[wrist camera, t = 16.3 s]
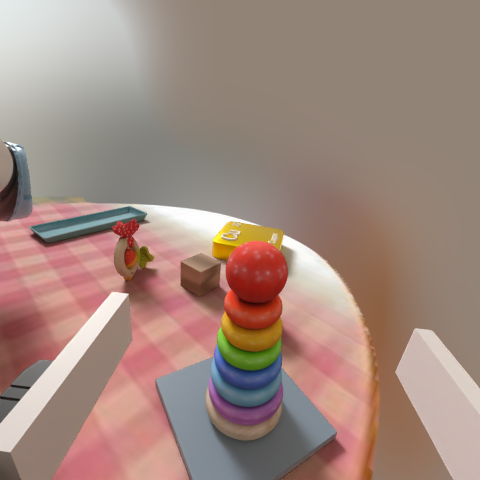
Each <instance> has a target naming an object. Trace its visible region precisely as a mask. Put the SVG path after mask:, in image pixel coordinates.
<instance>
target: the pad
mask: <svg viewBox="0 0 480 480" xmlns="http://www.w3.org/2000/svg"><path fill="white" fill-rule="evenodd" d="M213 359H214V357H212V358H209V359H206V360H204V361H201V362H199V363H196V364H194V365H191V366H188V367H186V368H183V369H181V370H178V371H175V372H173V373H170V374H168V375H165V376H163V377H160V378H157V379H155V380H156V388H157V390H158V393H159V396H160V399H161V401H162V404H163V407H164V410H165V412H166V415H167V418H168V421H169V423H170V426H171V429H172V432H173V434H174V437H175V440H176V442H177V445H178V448H179V451H180V453H181V456H182V459H183V462H184V464H185V467H186V470H187V473H188V475H189V478H190V480H279V479H281V478H282V477H283V476H285V475H286V474H287V473H289V472H290V471H292V470H293V469H294V468H296V467H297V466H298V465H300V464H301V463H302V462H304V461H305V460H306V459H308V458H309V457H310V456H312V455H313V454H314V453H316V452H317V451H319V450H320V449H321V448H323V447H324V446H325V445H327V444H328V443H329V442H331V441H332V440H333V439H335V437H336V434H337V431H336V430H335V429H334V428H333V426H332V425H331V424H330V423H329V422H328V421H327V420H326V418H325V417H324V416H323V415H322V414H321V413H320V411H319V410H318V409H317V408H316V407H315V406H314V405H313V403H312V402H311V401H310V400H309V399H308V398H307V396H306V395H305V394H304V393H303V392H302V391H301V390H300V388H299V387H298V386H297V385H296V384H295V383H294V381H293V380H292V379H291V378H290V377H289V376H288V375H287V373H286V372H285V371H284V370H283V369H282V368H281V370H282V384H283V398H282V412H281V416H280V419H279V421H278V423H277V424H276V426H275V427H274V428H273V429H272V430H271V431H270V432H269V433H267V434H266V435H264V436H263V437H260V438H258V439H255V440H248V441H244V440H237V439H234V438H231V437H229V436H227V435H225V434H224V433H222V432H221V431H219V430H218V429H217V428H216V427H215V425H214V424H213V423H212V421H211V420H210V418H209V416H208V413H207V410H206V404H205V396H206V390H207V387H208V385H209V379H210V376H211V364H212V361H213Z"/></svg>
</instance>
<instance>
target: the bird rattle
mask: <svg viewBox="0 0 480 480" xmlns="http://www.w3.org/2000/svg"><path fill="white" fill-rule="evenodd" d="M136 222H137V220H136V219H133V220H132V221H130V222H128V223H126V224H124V223H122V222H120V221H118V222H117V225H116V226H113V227H112V230H113V232H114V233H116V234H117V235H120V236H121V237H120V239H119V241H118V243H117V245H116V248H115V252H114V264H115V268H116V270H117V272H118V273H119V274H120V275H121V276H123V277H124V279H125V280H131V279H132V277H133V275H134V273H135V272H136V270H137V268H138V265H139V267H140V268H145V267H146V264H147V262H151V261H153V259H154V257H153V256H152V255H151V254H150V253H149V251H148V248H147V247H145V246H143V247H141V248H140V249H139V247H138V244H137V242H136V241H135V239H134V238H133V237H132V235H133V234H134V233H135V232H136V231H137V230H138V228H139V224H136ZM128 247H129V249H128Z"/></svg>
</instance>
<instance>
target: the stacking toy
mask: <svg viewBox="0 0 480 480" xmlns="http://www.w3.org/2000/svg"><path fill="white" fill-rule="evenodd" d="M287 277H288V268H287V263H286V260H285V258H284V256H283V254H282V253H281V252H280V251H279V250H278V249H277V248H276V247H275V246H273V245H271V244H269V243H267V242H263V241H250V242H246V243H244V244H242V245H240V246H238V247H237V248H236V249H235V250H234V251H233V252H232V253H231V255H230V256H229V258H228V261H227V264H226V278H227V282H228V284H229V287H230V288H231V290H230V291H229V292H228V293H227V295H226V297H225V300H224V309H225V313H224V315H223V317H222V320H221V328H220V329H219V332H218V335H217V346H216V348H215V353H214V359H213V361H212V364H211V376H210V379H209V385H208V387H207V390H206V396H205V404H206V410H207V413H208V416H209V418H210V420H211V421H212V423H213V424H214V425H215V427H216V428H217V429H218V430H219V431H221V432H222V433H224V434H225V435H227V436H229V437H231V438H234V439H237V440H244V441H248V440H255V439H258V438H260V437H263V436H264V435H266V434H267V433H269V432H270V431H271V430H272V429H273V428H274V427H275V426H276V424H277V423H278V421H279V419H280V416H281V412H282V398H283V384H282V370H281V366H282V354H281V348H282V341H281V335H282V331H283V324H282V320H281V318H280V316H281V313H282V301H281V299H280V297H279V295H278V294H279V293H280V292H281V291H282V289H283V288H284V286H285V284H286V281H287Z"/></svg>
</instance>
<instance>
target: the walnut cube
mask: <svg viewBox="0 0 480 480" xmlns="http://www.w3.org/2000/svg"><path fill="white" fill-rule="evenodd" d="M220 268H221V262H219V261H217V260H214V259H212V258H210V257H208V256H206V255H204V254H202V253H201V254H198V255H196V256H193V257H191V258H188V259H186V260H183V261H181V286H183V287H184V288H186V289H188V290H189V291H191V292H193V293H194V294H196V295H198V296H199V297H200V296H202V295H204V294H206V293H207V292H209V291H211V290H213V289H215V288H216V287H218V286H219V282H220Z"/></svg>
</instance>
